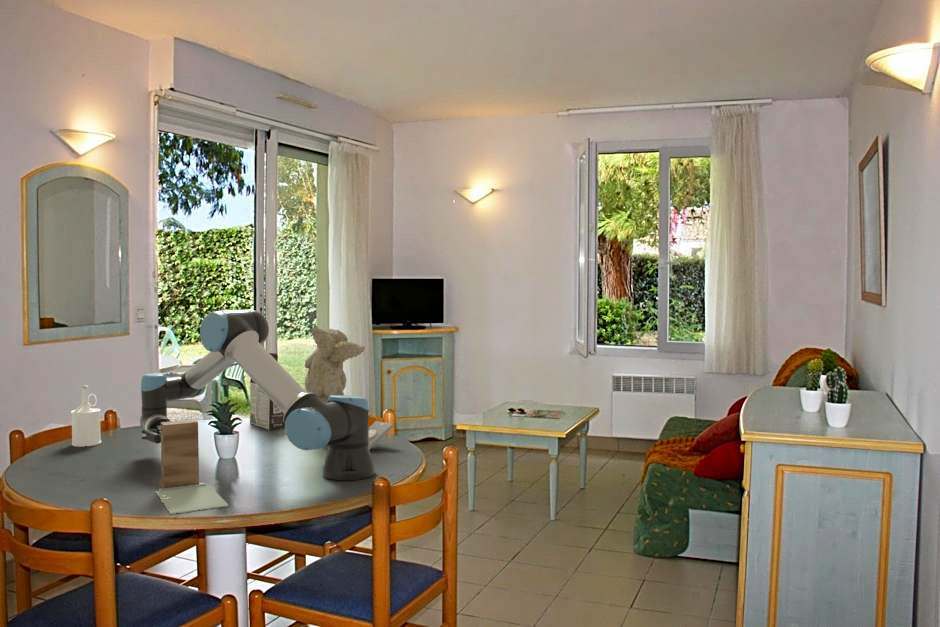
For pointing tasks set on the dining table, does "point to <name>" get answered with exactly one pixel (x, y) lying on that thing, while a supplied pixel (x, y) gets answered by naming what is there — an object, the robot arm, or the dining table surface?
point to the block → (179, 453)
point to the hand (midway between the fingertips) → (174, 443)
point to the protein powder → (264, 408)
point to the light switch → (378, 432)
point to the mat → (191, 499)
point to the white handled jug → (86, 422)
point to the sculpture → (329, 362)
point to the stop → (182, 486)
